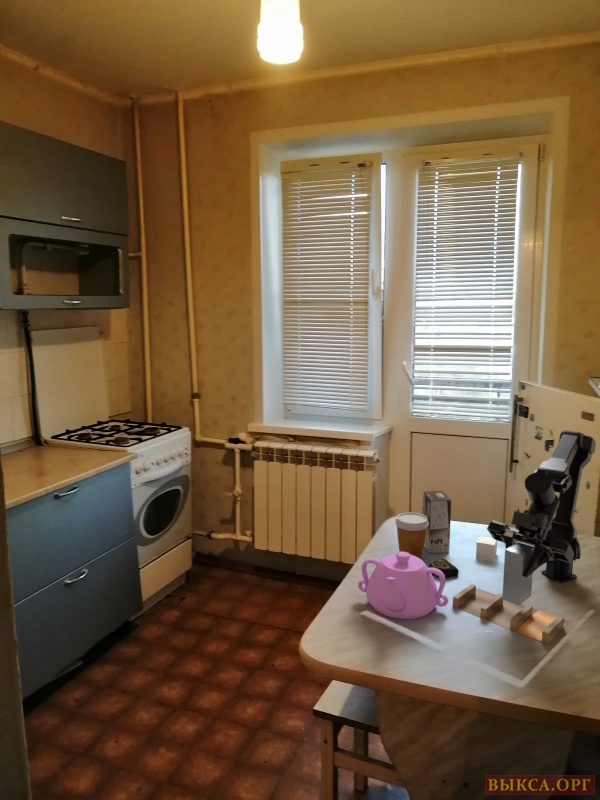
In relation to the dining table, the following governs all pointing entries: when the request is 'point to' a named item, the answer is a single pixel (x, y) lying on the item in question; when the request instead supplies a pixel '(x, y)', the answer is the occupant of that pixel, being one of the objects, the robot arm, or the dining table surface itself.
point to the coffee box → (437, 521)
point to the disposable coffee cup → (411, 533)
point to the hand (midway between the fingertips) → (515, 573)
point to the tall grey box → (517, 573)
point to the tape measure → (444, 568)
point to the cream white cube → (486, 548)
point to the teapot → (402, 586)
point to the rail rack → (509, 614)
